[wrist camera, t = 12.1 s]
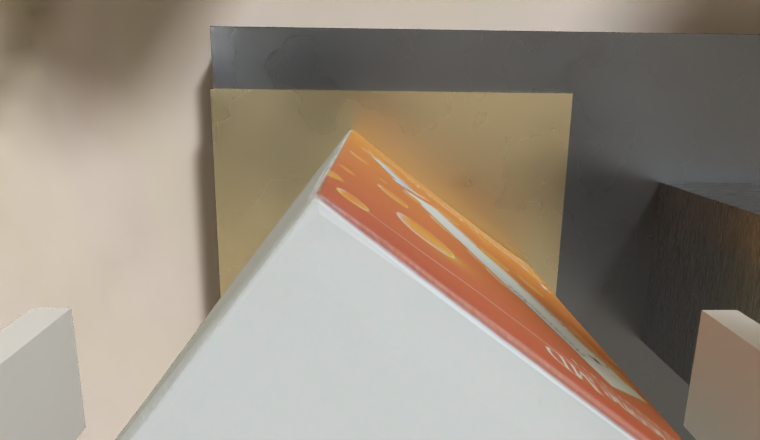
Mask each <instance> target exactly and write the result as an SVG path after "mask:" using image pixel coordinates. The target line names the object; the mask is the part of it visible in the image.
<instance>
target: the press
mask: <svg viewBox="0 0 760 440" xmlns="http://www.w3.org/2000/svg"><path fill="white" fill-rule="evenodd" d="M210 33H211V53H212V74H213V89H210V98H211V118H212V138H213V158H214V178H215V198H216V218H217V238H218V258H219V278H220V297H222V295H223V294H224V293H225V291H226V290H227V289H228V287H229V286H230V285H231V283H232V282H233V281H234V279H235V278H236V277H237V275H238V274H239V273H240V271H241V270H242V269H243V267H244V266H245V265H246V263H247V262H248V261H249V259H250V258H251V257H252V255H253V254H254V253H255V251H256V250H257V249H258V247H259V246H260V245H261V243H262V242H263V241H264V240H265V238H266V237H267V236H268V234H269V233H270V232H271V230H272V229H273V228H274V226H275V225H276V224H277V223H278V221H279V220H280V219H281V217H282V216H283V215H284V213H285V212H286V211H287V210H288V208H289V207H290V206H291V204H292V203H293V202H294V200H295V199H296V198H297V196H298V195H299V194H300V193H301V191H302V190H303V189H304V187H305V186H306V185H307V183H308V182H309V181H310V180H311V178H312V177H313V176H314V174H315V173H316V172H317V170H318V169H319V168H320V167H321V165H322V164H323V163H324V162H325V160H326V159H327V158H328V156H329V155H330V154H331V153H332V151H333V150H334V149H335V148H336V146H337V145H338V144H339V142H340V141H341V140H342V139H343V137H344V136H345V135H346V134H347V133H348V131H350V130H354V131H356V132H357V133H358V134H360V135H361V136H362V137H363V138H364V139H366V140H367V141H368V142H369V143H371V144H372V145H373V146H374V147H376V148H377V149H378V150H379V151H381V152H382V153H383V154H384V155H386V156H387V157H388V158H389V159H391V160H392V161H393V162H394V163H396V164H397V165H398V166H399V167H401V168H402V169H403V170H404V171H406V172H407V173H408V174H409V175H411V176H412V177H413V178H414V179H416V180H417V181H418V182H419V183H421V184H422V185H423V186H424V187H426V188H427V189H428V190H430V191H431V192H432V193H433V194H435V195H436V196H437V197H438V198H440V199H441V200H442V201H443V202H445V203H446V204H447V205H449V206H450V207H451V208H453V209H454V210H455V211H457V212H458V213H459V214H461V215H462V216H463V217H465V218H466V219H467V220H468V221H470V222H471V223H472V224H474V225H475V226H476V227H477V228H479V229H480V230H481V231H483V232H484V233H485V234H486V235H488V236H489V237H491V238H492V239H493V240H495V241H496V242H497V243H499V244H500V245H502V246H503V247H504V248H506V249H507V250H509V251H510V252H511V253H513V254H514V255H516V256H517V257H519V258H520V259H522V260H523V261H524V262H526V263H527V264H528V265H529V266H530V267H531V268H532V269H533V270H534V271H535V272H536V273H537V275H538V276H539V277H540V278H541V279H542V280H543V281H544V283H545V284H546V285H547V286H548V287H549V288H550V289H551V290H552V292H553V293H554V294H555V296H556V297H557V298H558V299H559V300H560V302H561V303H562V304H563V305H564V306H565V307H566V309H567V310H568V311H569V312H570V313H571V314H572V315H573V316H574V318H575V319H576V320H577V321H578V322H579V323H580V324H581V325H582V326H583V328H584V329H585V330H586V331H587V332H588V333H589V334H590V335H591V336H592V338H593V339H594V340H595V341H596V342H597V343H598V344H599V345H600V346H601V348H602V349H603V350H604V351H605V352H606V353H607V354H608V356H609V357H610V358H611V359H612V360H613V361H614V362H615V364H616V365H617V366H618V367H619V368H620V369H621V370H622V371H623V373H624V374H625V375H626V376H627V377H628V378H629V379H630V381H631V382H632V383H633V384H634V385H635V386H636V387H637V389H638V390H639V391H640V392H641V393H642V394H643V395H644V397H645V398H646V399H647V400H648V401H649V402H650V403H651V405H652V406H653V407H654V408H655V409H656V410H657V411H658V413H659V414H660V415H661V416H662V417H663V418H664V420H665V421H666V422H667V423H668V424H669V425H670V426H671V427H672V428H673V430H674V431H675V432H676V433H677V434H678V435H679V436H680V437H681V439H682V440H696V439H695V438H694V437H693V436H692V435H691V434H690V432H689V431H688V430H687V429H686V428H685V427H684V426H683V425H684V419H685V412H686V406H687V400H688V393H689V387H690V381H691V374H692V368H693V362H694V355H695V349H696V343H697V336H698V330H699V323H700V317H701V311H702V310H738V311H740V312H741V313H743V314H744V315H746V316H748V317H749V318H751V319H752V320H754V321H755V322H757V323H759V324H760V35H749V34H684V33H619V32H554V31H488V30H423V29H358V28H293V27H228V26H210Z"/></svg>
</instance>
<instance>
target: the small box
mask: <svg viewBox="0 0 760 440" xmlns="http://www.w3.org/2000/svg"><path fill="white" fill-rule="evenodd" d="M115 440H682V439H681V437H680V436H679V435H678V434H677V433H676V432H675V431H674V430H673V428H672V427H671V426H670V425H669V424H668V423H667V422H666V421H665V420H664V418H663V417H662V416H661V415H660V414H659V413H658V411H657V410H656V409H655V408H654V407H653V406H652V405H651V403H650V402H649V401H648V400H647V399H646V398H645V397H644V395H643V394H642V393H641V392H640V391H639V390H638V389H637V387H636V386H635V385H634V384H633V383H632V382H631V381H630V379H629V378H628V377H627V376H626V375H625V374H624V373H623V371H622V370H621V369H620V368H619V367H618V366H617V365H616V364H615V362H614V361H613V360H612V359H611V358H610V357H609V356H608V354H607V353H606V352H605V351H604V350H603V349H602V348H601V346H600V345H599V344H598V343H597V342H596V341H595V340H594V339H593V338H592V336H591V335H590V334H589V333H588V332H587V331H586V330H585V329H584V328H583V326H582V325H581V324H580V323H579V322H578V321H577V320H576V319H575V318H574V316H573V315H572V314H571V313H570V312H569V311H568V310H567V309H566V307H565V306H564V305H563V304H562V303H561V302H560V300H559V299H558V298H557V297H556V296H555V294H554V293H553V292H552V290H551V289H550V288H549V287H548V286H547V285H546V284H545V283H544V281H543V280H542V279H541V278H540V277H539V276H538V275H537V273H536V272H535V271H534V270H533V269H532V268H531V267H530V266H529V265H528V264H527V263H526V262H524V261H523V260H522V259H520V258H519V257H517V256H516V255H514V254H513V253H511V252H510V251H509V250H507V249H506V248H504V247H503V246H502V245H500V244H499V243H497V242H496V241H495V240H493V239H492V238H491V237H489V236H488V235H486V234H485V233H484V232H483V231H481V230H480V229H479V228H477V227H476V226H475V225H474V224H472V223H471V222H470V221H468V220H467V219H466V218H465V217H463V216H462V215H461V214H459V213H458V212H457V211H455V210H454V209H453V208H451V207H450V206H449V205H447V204H446V203H445V202H443V201H442V200H441V199H440V198H438V197H437V196H436V195H435V194H433V193H432V192H431V191H430V190H428V189H427V188H426V187H424V186H423V185H422V184H421V183H419V182H418V181H417V180H416V179H414V178H413V177H412V176H411V175H409V174H408V173H407V172H406V171H404V170H403V169H402V168H401V167H399V166H398V165H397V164H396V163H394V162H393V161H392V160H391V159H389V158H388V157H387V156H386V155H384V154H383V153H382V152H381V151H379V150H378V149H377V148H376V147H374V146H373V145H372V144H371V143H369V142H368V141H367V140H366V139H364V138H363V137H362V136H361V135H360V134H358V133H357V132H356V131H354V130H350V131H348V133H347V134H346V135H345V136H344V137H343V139H342V140H341V141H340V142H339V144H338V145H337V146H336V148H335V149H334V150H333V151H332V153H331V154H330V155H329V156H328V158H327V159H326V160H325V162H324V163H323V164H322V165H321V167H320V168H319V169H318V170H317V172H316V173H315V174H314V176H313V177H312V178H311V180H310V181H309V182H308V183H307V185H306V186H305V187H304V189H303V190H302V191H301V193H300V194H299V195H298V196H297V198H296V199H295V200H294V202H293V203H292V204H291V206H290V207H289V208H288V210H287V211H286V212H285V213H284V215H283V216H282V217H281V219H280V220H279V221H278V223H277V224H276V225H275V226H274V228H273V229H272V230H271V232H270V233H269V234H268V236H267V237H266V238H265V240H264V241H263V242H262V243H261V245H260V246H259V247H258V249H257V250H256V251H255V253H254V254H253V255H252V257H251V258H250V259H249V261H248V262H247V263H246V265H245V266H244V267H243V269H242V270H241V271H240V273H239V274H238V275H237V277H236V278H235V279H234V281H233V282H232V283H231V285H230V286H229V287H228V289H227V290H226V291H225V293H224V294H223V295H222V297H221V298H220V299H219V301H218V302H217V303H216V305H215V306H214V307H213V309H212V310H211V311H210V313H209V314H208V316H207V317H206V318H205V320H204V321H203V323H202V324H201V325H200V327H199V328H198V329H197V331H196V332H195V334H194V335H193V336H192V338H191V339H190V341H189V342H188V343H187V345H186V346H185V347H184V349H183V350H182V351H181V353H180V354H179V356H178V357H177V358H176V360H175V361H174V362H173V364H172V365H171V366H170V368H169V369H168V370H167V372H166V373H165V374H164V376H163V377H162V378H161V380H160V381H159V383H158V384H157V385H156V387H155V388H154V389H153V391H152V392H151V393H150V395H149V396H148V397H147V399H146V400H145V401H144V403H143V404H142V405H141V407H140V408H139V409H138V411H137V412H136V413H135V415H134V416H133V417H132V418H131V420H130V421H129V422H128V424H127V425H126V426H125V428H124V429H123V430H122V431H121V433H120V434H119V435H118V437H117V438H116V439H115Z"/></svg>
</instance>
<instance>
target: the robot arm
mask: <svg viewBox="0 0 760 440" xmlns="http://www.w3.org/2000/svg"><path fill="white" fill-rule="evenodd" d="M683 426H684V427H685V428H686V429H687V430H688V431H689V432H690V434H691V435H692V436H693V437H694V438H695V439H696V440H760V324H759V323H757V322H755V321H754V320H752V319H751V318H749V317H748V316H746V315H744V314H743V313H741V312H740V311H738V310H702V311H701V317H700V323H699V330H698V336H697V343H696V349H695V355H694V362H693V368H692V374H691V381H690V387H689V393H688V400H687V406H686V412H685V419H684V425H683ZM85 428H86V424H85V416H84V408H83V400H82V392H81V383H80V375H79V367H78V359H77V350H76V342H75V334H74V326H73V317H72V309H71V308H32V309H31V310H29V311H28V312H26V313H25V314H24V315H22V316H21V317H19V318H18V319H17V320H15V321H14V322H12V323H11V324H9V325H8V326H7V327H5V328H4V329H2V330H1V331H0V440H76V439H77V438H78V436H79V435H80V434H81V433H82V431H83V430H84V429H85Z"/></svg>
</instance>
